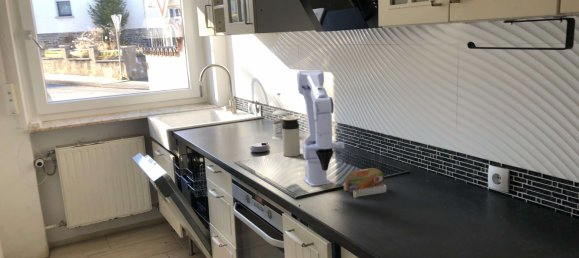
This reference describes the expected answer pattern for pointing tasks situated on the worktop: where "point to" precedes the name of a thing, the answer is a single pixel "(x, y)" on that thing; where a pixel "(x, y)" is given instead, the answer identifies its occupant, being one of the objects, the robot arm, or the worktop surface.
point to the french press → (278, 124)
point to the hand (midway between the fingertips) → (324, 169)
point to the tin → (364, 179)
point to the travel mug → (291, 136)
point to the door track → (367, 190)
